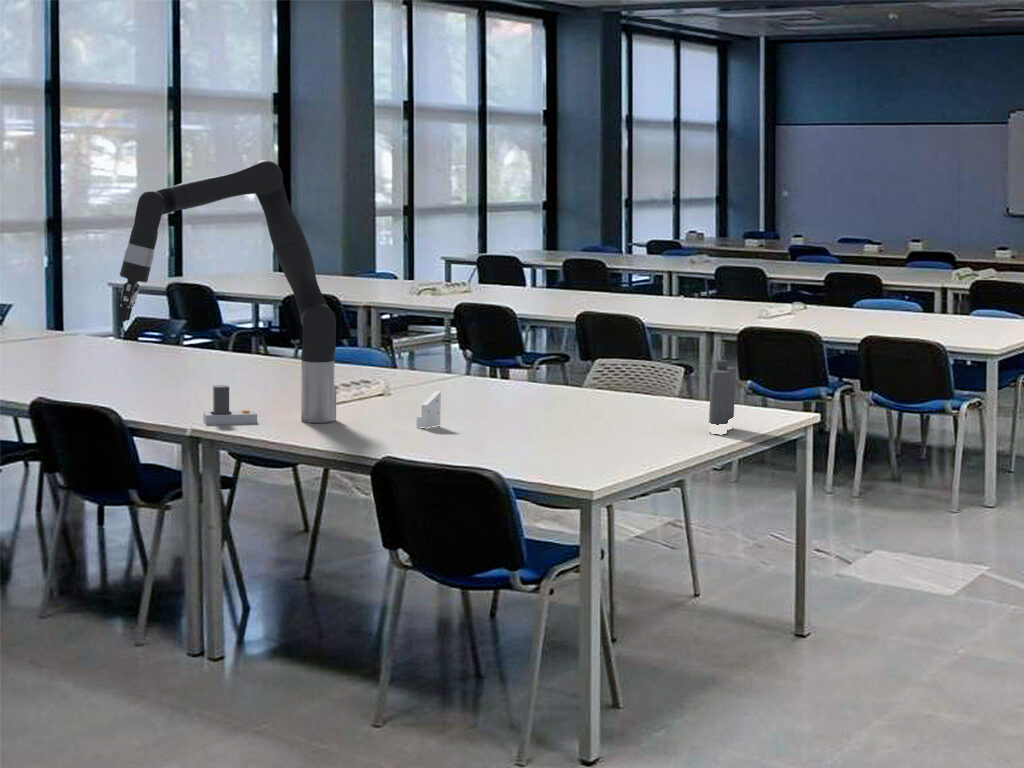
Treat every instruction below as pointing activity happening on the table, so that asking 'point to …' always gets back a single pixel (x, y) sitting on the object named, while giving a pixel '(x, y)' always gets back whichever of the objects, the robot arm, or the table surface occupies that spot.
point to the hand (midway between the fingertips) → (123, 320)
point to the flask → (722, 393)
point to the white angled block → (430, 411)
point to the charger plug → (220, 399)
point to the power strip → (230, 417)
